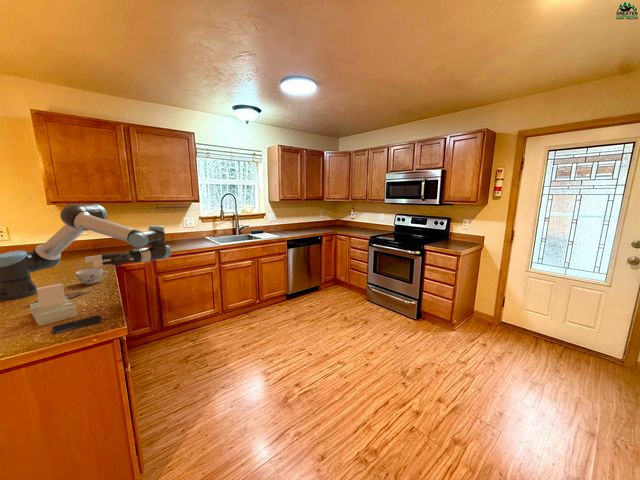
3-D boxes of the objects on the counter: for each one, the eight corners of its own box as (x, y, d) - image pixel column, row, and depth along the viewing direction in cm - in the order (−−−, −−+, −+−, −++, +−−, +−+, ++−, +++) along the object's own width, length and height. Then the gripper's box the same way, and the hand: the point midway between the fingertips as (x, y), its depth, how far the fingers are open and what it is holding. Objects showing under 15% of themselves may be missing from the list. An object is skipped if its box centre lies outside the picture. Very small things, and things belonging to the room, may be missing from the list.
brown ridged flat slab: (86, 290, 150) (86, 288, 150) (93, 294, 144) (93, 292, 144) (19, 305, 128) (19, 303, 128) (24, 310, 123) (23, 308, 122)
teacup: (75, 287, 153) (73, 274, 152) (79, 282, 163) (77, 269, 162) (107, 283, 162) (106, 270, 160) (109, 278, 172) (108, 266, 170)
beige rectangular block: (40, 313, 116) (36, 287, 114) (64, 307, 122) (61, 283, 120) (41, 315, 114) (37, 289, 112) (66, 309, 120) (63, 284, 118)
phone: (102, 320, 112) (52, 332, 101) (102, 322, 112) (53, 335, 101) (99, 314, 117) (51, 326, 106) (99, 317, 117) (52, 328, 106)
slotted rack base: (31, 313, 119) (29, 304, 118) (67, 305, 129) (65, 296, 128) (38, 326, 107) (37, 316, 107) (77, 315, 117) (76, 306, 116)
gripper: (149, 265, 136) (97, 274, 119) (131, 258, 151) (83, 265, 134) (148, 251, 135) (96, 258, 118) (130, 245, 149) (81, 251, 133)
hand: (89, 262), depth 126 cm, fingers open, 13 cm apart
